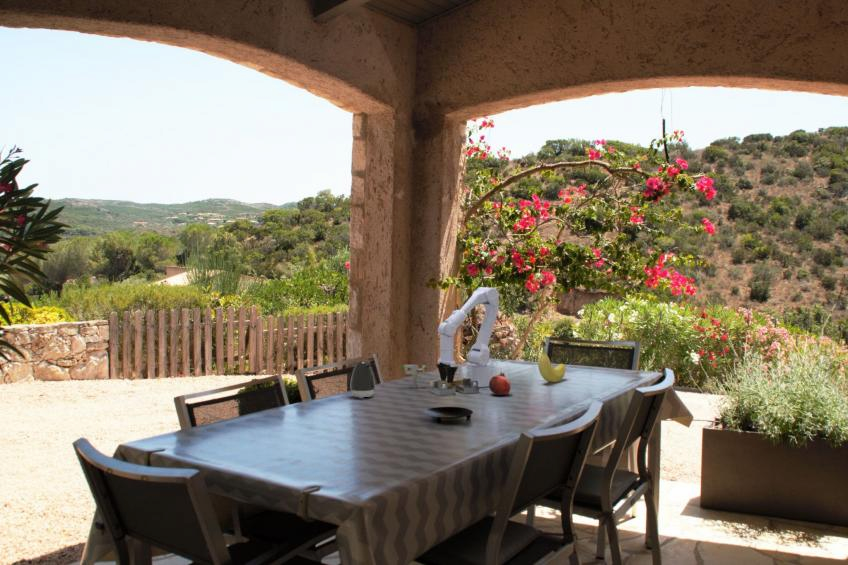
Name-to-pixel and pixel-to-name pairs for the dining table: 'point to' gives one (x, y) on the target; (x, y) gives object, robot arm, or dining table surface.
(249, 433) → the dining table surface
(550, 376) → the banana
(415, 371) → the mechanical component
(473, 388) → the chain end
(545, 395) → the dining table surface
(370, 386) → the dark grey speaker
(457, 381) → the master link
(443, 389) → the chain end
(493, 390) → the fruit
